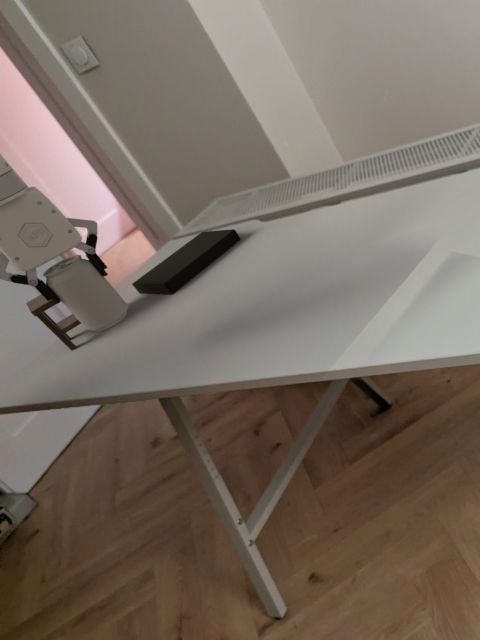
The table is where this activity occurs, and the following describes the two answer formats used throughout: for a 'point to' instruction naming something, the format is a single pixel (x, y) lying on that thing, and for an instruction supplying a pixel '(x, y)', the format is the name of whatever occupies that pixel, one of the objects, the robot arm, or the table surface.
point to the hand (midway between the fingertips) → (81, 287)
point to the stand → (59, 329)
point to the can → (86, 293)
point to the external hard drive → (186, 262)
